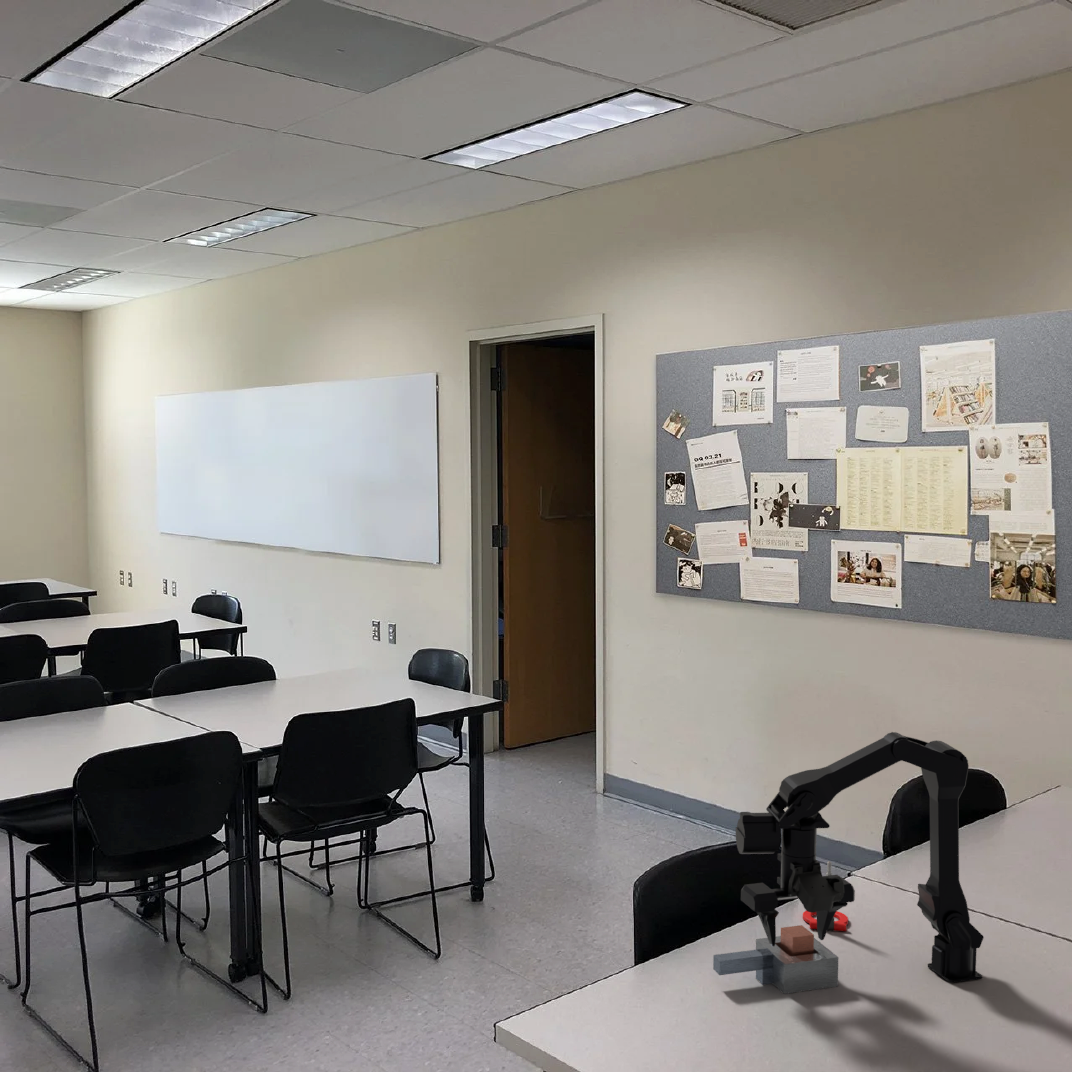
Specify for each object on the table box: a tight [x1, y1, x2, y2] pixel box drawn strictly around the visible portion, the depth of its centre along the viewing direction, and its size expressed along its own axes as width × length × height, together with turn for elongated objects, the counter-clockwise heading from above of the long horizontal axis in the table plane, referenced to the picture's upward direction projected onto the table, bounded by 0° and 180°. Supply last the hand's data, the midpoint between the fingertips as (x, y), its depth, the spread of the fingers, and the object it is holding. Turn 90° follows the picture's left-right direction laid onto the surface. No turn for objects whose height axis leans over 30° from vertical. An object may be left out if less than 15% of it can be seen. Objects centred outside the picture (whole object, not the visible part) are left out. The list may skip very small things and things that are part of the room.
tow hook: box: [802, 861, 849, 932], centre depth 210 cm, size 8×13×9 cm
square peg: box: [780, 924, 815, 957], centre depth 187 cm, size 4×4×8 cm
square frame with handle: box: [712, 935, 839, 994], centre depth 186 cm, size 20×10×5 cm, turn 106°
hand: (796, 942), depth 187 cm, fingers open, 9 cm apart
